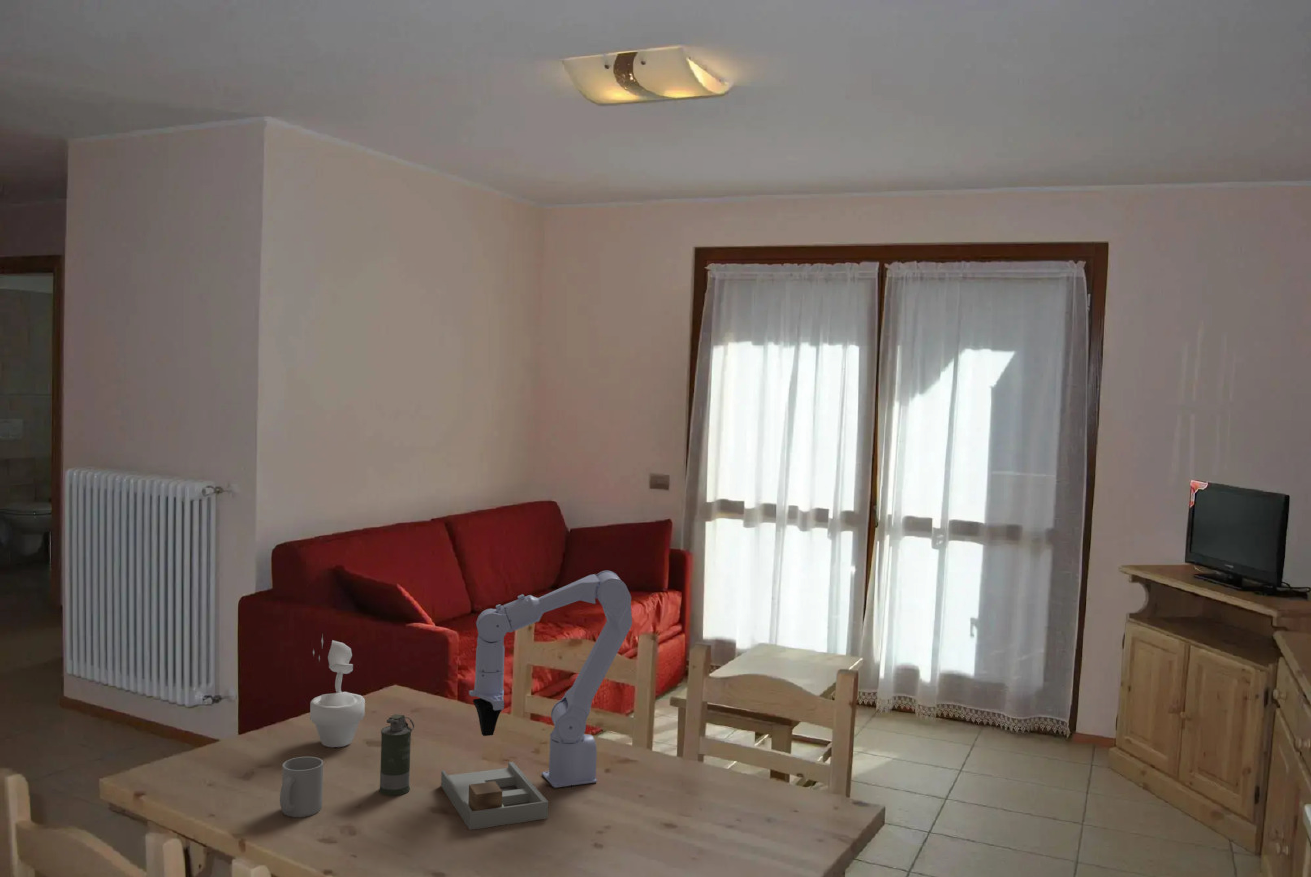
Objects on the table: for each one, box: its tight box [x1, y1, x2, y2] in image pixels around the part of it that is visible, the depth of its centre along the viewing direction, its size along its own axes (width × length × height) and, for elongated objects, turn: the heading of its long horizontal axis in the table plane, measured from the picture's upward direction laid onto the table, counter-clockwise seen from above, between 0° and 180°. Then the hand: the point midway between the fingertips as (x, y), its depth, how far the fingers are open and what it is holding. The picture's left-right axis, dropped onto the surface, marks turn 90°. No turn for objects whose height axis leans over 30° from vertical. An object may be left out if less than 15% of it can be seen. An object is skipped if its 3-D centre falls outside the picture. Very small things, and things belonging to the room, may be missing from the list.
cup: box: [279, 756, 324, 818], centre depth 191 cm, size 7×10×9 cm
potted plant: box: [309, 633, 366, 748], centre depth 227 cm, size 13×12×25 cm
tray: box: [440, 761, 549, 831], centre depth 200 cm, size 15×22×3 cm
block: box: [468, 781, 502, 811], centre depth 191 cm, size 5×5×4 cm
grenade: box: [378, 713, 415, 797], centre depth 203 cm, size 6×6×15 cm
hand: (487, 734), depth 209 cm, fingers closed
